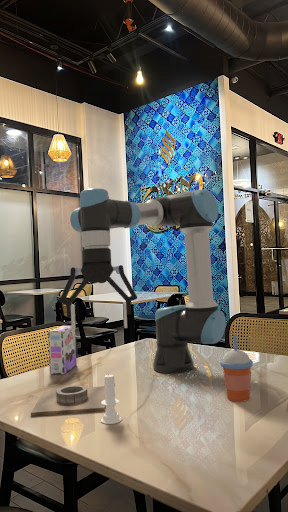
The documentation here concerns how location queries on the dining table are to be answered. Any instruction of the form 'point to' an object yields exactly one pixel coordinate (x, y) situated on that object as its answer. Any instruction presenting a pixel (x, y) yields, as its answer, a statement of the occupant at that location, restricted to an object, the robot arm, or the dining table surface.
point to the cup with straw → (237, 374)
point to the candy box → (62, 350)
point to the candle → (110, 401)
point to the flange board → (70, 400)
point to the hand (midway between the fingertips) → (99, 328)
